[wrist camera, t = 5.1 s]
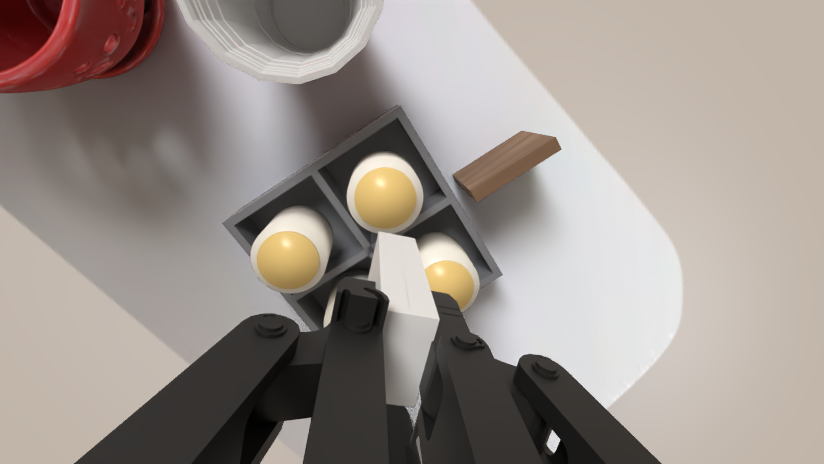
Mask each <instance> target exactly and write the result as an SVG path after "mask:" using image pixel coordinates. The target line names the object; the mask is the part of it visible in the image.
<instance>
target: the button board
mask: <svg viewBox="0 0 824 464" xmlns="http://www.w3.org/2000/svg"><path fill="white" fill-rule="evenodd" d="M376 151H391V152H394V153H397V154H399V155H400V156H402V157H403V158H405V159H406V160H407V161H408V162H409V164H410V165H411V167H412V168H413V170H414V172H415V173H416V175H417V177H418V179H419V180H420V183H421V185H422V189H423V204H422V208H421V211H420V213H419V215H418V217H417V218H416V219H415V221H414V222H413V223H412V224H411V225H410V226H408V227H407V228H405V229H404V230H402V231H399V232H397V233H393V234H395V235H400V236H405V237H410V238H415V240H416V239H417V238H419V237H420V236H422V235H424V234H427V233H432V232H441V233H445V234H448V235H450V236H452V237H454V238H455V239H456V240H457V241H458V242H459V243H460V245H461V246H462V248H463V249H464V251H465V253H466V254H467V256H468V258H469V259H470V261H471V262H472V264H473V266H474V267H475V269H476V271H477V273H478V276H479V283H480V285H479V289H480V288H482V287H484V286H485V285H487V284H489V283H490V282H492V281H494V280H495V279H497V278H498V277H500V276H502V275H503V274H502V273H501V271H500V269H499V268H498V266H497V264H496V263H495V261H494V259H493V258H492V256H491V254H490V253H489V251H488V249H487V248H486V246H485V245H484V243H483V241H482V240H481V238H480V236H479V235H478V233H477V231H476V230H475V228H474V226H473V225H472V223H471V221H470V220H469V218H468V217H467V215H466V213H465V212H464V210H463V208H462V207H461V205H460V203H459V202H458V200H457V198H456V197H455V195H454V193H453V192H452V190H451V189H450V187H449V185H448V184H447V182H446V180H445V179H444V177H443V175H442V174H441V172H440V170H439V169H438V167H437V165H436V164H435V162H434V161H433V159H432V157H431V156H430V154H429V152H428V151H427V149H426V147H425V146H424V144H423V142H422V141H421V139H420V138H419V136H418V134H417V133H416V131H415V129H414V128H413V126H412V124H411V123H410V121H409V119H408V118H407V116H406V114H405V113H404V111H403V110H402V108H401V106H398V105H397V106H395V107H394V108H392V109H391V110H389V111H388V112H386V113H385V114H383V115H382V116H380V117H379V118H377V119H376V120H374V121H373V122H371V123H370V124H368V125H367V126H365V127H364V128H362V129H360V130H359V131H357V132H356V133H354V134H353V135H351V136H350V137H348V138H347V139H345V140H344V141H342V142H341V143H339V144H338V145H336V146H335V147H333V148H332V149H330V150H329V151H327V152H326V153H324V154H323V155H321V156H320V157H318V158H317V159H315V160H314V161H312V162H311V163H309V164H308V165H306V166H305V167H303V168H302V169H300V170H298V171H297V172H295V173H294V174H292V175H291V176H289V177H288V178H286V179H285V180H283V181H282V182H280V183H279V184H277V185H276V186H274V187H273V188H271V189H270V190H268V191H267V192H265V193H264V194H262V195H261V196H259V197H258V198H256V199H255V200H253V201H252V202H250V203H249V204H247V205H246V206H244V207H243V208H241V209H240V210H238V211H237V212H236V213H235V214H233V215H232V216H231V217H230V218H228V219H227V220H226V221H225V222H223V223H222V224H223V225H224V226H225V227H226V228H227V230H228V231H229V232H230V233H231V234H232V236H233V237H234V238H235V239H236V240H237V242H238V243H239V244H240V245H241V246H242V248H243V249H244V250H245V251H246V252H247V254H248V255H249V256H250V255H251V248H252V246H253V243H254V241H255V240H256V238H257V237H258V236H259V234H260V233H261V232H262V231H263V230H264V229H265V228H266V226H267V225H268V224H269V223H270V222H271V221H272V219H273V218H274V217H275V216H276V215H277V214H278V213H279V212H281V211H282V210H284V209H286V208H288V207H292V206H308V207H311V208H314V209H316V210H318V211H319V212H321V213H322V214H323V215H324V216H325V217H326V218H327V219H328V221H329V222H330V224H331V226H332V229H333V234H334V240H333V245H332V249H331V252H330V256H329V259H328V263H327V266H326V270H325V272H324V275H323V276H322V278H321V279H320V281H319V282H318V283H317V284H316V285H314V286H313V287H312V288H310V289H308V290H306V291H303V292H299V293H282V292H280V293H281V295H282V296H283V297H284V298H285V299H286V301H287V302H288V303H289V304H290V305H291V307H292V308H293V309H294V310H295V311H296V313H297V314H298V315H299V316H300V317H301V319H302V320H303V321H304V322H305V323H306V325H307V326H308V327H309V328H310V329H311V331H316V330H320V329H322V328H324V317H325V312H326V308H327V304H328V299H329V295H330V291H331V287H332V285H333V283H334V281H335V280H336V279H337V278H338V277H339V276H340V275H342V274H344V273H345V272H348V271H352V270H365V271H368V272H370V268H371V263H372V259H373V254H374V250H375V245H376V241H377V236H378V234H377V233H374V232H371V231H368V230H367V229H365V228H363V227H362V226H360V225H359V224H358V223H357V222H356V221H355V219H354V218H353V216H352V215H351V213H350V211H349V208H348V204H347V189H348V186H349V182H350V179H351V176H352V172H353V170H354V168H355V166H356V165H357V163H358V162H359V161H360V160H361V159H362V158H363V157H365V156H366V155H368V154H370V153H372V152H376Z"/></svg>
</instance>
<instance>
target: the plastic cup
mask: <svg viewBox="0 0 824 464" xmlns="http://www.w3.org/2000/svg"><path fill="white" fill-rule="evenodd" d="M176 1H177V3H178V5H179V7H180V9H181V12H182V14H183V16H184V18H185V21H186V23H187V25H188V26H189V27H190V28H191V29H192V30H193V31H194V32H195V33H196V34H197V35H198V37H199V38H200V39H201V40H202V41H203V42H204V43H205V44H206V45H207V46H208V47H209V48H210V49H211V51H212V52H213V53H214V54H215V55H216V56H217V57H218V58H219V59H220V60H222V61H224V62H226V63H227V64H229V65H231V66H233V67H235V68H237V69H239V70H241V71H243V72H245V73H246V74H248V75H250V76H252V77H254V78H256V79H258V80H263V81H273V82H282V83H291V84H302V83H305V82H308V81H311V80H315V79H318V78H321V77H324V76H327V75H331V74H334V73H336V72H337V71H338V70H340V69H341V68H342V67H343V66H344V65H345V64H346V63H347V62H348V61H350V60H351V59H352V58H353V57H354V56H355V55H356V54H357V53H359V52H360V51H361V50H362V49H363V48H364V47H365V46H366V44H367V41H368V39H369V37H370V35H371V33H372V31H373V29H374V26H375V24H376V22H377V20H378V18H379V16H380V14H381V11H382V9H383V1H384V0H176Z"/></svg>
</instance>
